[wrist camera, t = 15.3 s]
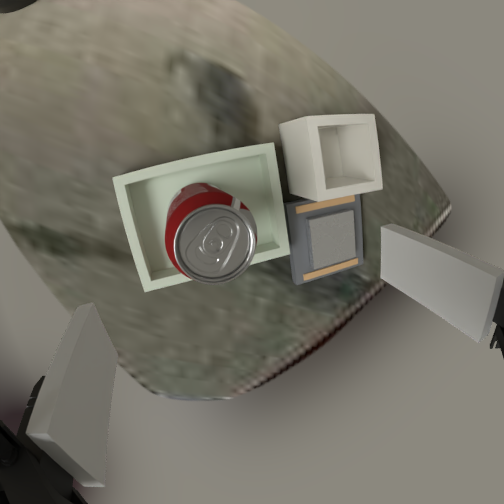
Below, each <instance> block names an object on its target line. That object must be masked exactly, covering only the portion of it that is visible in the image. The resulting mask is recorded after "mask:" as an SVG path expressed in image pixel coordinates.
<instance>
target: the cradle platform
mask: <svg viewBox="0 0 504 504" xmlns="http://www.w3.org/2000/svg"><path fill="white" fill-rule="evenodd" d="M305 220H306V229H307V237H308V247H309V256H310V267H312V268H313V269H317V268H321V267H324V266H327V265H331V264H334V263H337V262H340V261H344V260H347V259H350V258H353V257H356V252H355V230H354V214H353V210H351V209H346V210H341V211H337V212H332V213H328V214H324V215H319V216H315V217H311V218H306V219H305Z"/></svg>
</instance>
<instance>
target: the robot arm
mask: <svg viewBox="0 0 504 504" xmlns="http://www.w3.org/2000/svg"><path fill="white" fill-rule="evenodd" d="M34 1H36V0H0V13H9V12H13V11H16V10H18V9H21V8H23V7H25V6H27V5H29V4H31V3H33V2H34ZM381 279H383V280H385V281H386V282H388V283H389V284H391V285H393V286H394V287H396V288H397V289H399V290H401V291H402V292H404V293H405V294H407V295H408V296H410V297H411V298H413V299H414V300H416V301H417V302H419V303H420V304H422V305H423V306H425V307H427V308H428V309H429V310H431V311H432V312H434V313H436V314H437V315H439V316H440V317H441V318H443V319H444V320H446V321H448V322H449V323H450V324H452V325H453V326H455V327H456V328H458V329H459V330H461V331H462V332H463V333H465V334H466V335H468V336H469V337H470V338H472V339H473V340H475V341H476V342H478V343H479V342H481V341H482V340H483V339H484V338H485V337H486V336H487V335H488V333H489V331H490V328H491V325H492V321H493V322H495V323H496V324H497V326H496V329H495V332H494V335H493V338H492V340H491V343H490V349H492V348H493V345H494V343H495V341H497V344H496V347H495V348H501V351H502V355H503V358H504V270H503V269H501V268H498V267H496V266H494V265H492V264H490V263H488V262H485V261H483V260H481V259H479V258H477V257H474V256H472V255H470V254H468V253H465V252H463V251H460V250H458V249H456V248H453V247H451V246H449V245H446V244H444V243H442V242H439V241H437V240H434V239H432V238H429V237H427V236H424V235H422V234H419V233H417V232H414V231H411V230H409V229H406V228H403V227H401V226H398V225H395V224H393V223H392V224H388V225H384V226H381ZM117 359H118V354H117V352H116V350H115V348H114V346H113V344H112V342H111V340H110V338H109V336H108V334H107V332H106V330H105V327H104V325H103V323H102V321H101V319H100V316H99V314H98V312H97V310H96V307H95V305H94V303H93V302H92V303H88V304H84V305H80V306H78V307H77V309H76V311H75V313H74V315H73V317H72V319H71V321H70V323H69V325H68V327H67V329H66V331H65V333H64V335H63V337H62V339H61V342H60V344H59V346H58V348H57V350H56V353H55V355H54V357H53V359H52V362H51V364H50V367H49V369H48V372H47V374H46V376H42V377H41V378H40V380H39V381H38V382H37V383H36V385H35V386H34V388H33V391H32V393H31V396H30V400H29V401H28V404H27V408H26V409H25V412H24V415H23V418H22V420H21V423H20V426H19V429H18V433H17V436H15V435H14V434H13V432H12V431H11V430H10V429H9V428H8V427H7V426H6V425H5V424H4V423H3V421H2V420H0V504H88V503H87V502H86V501H85V500H84V498H83V497H82V496H81V495H80V493H79V492H78V491H77V490H76V489H75V488H74V487H72V485H73V478H74V479H75V480H77V481H78V482H79V483H81V484H82V485H83V486H86V487H105V477H106V454H107V439H108V427H109V417H110V408H111V399H112V392H113V385H114V378H115V371H116V365H117Z"/></svg>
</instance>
